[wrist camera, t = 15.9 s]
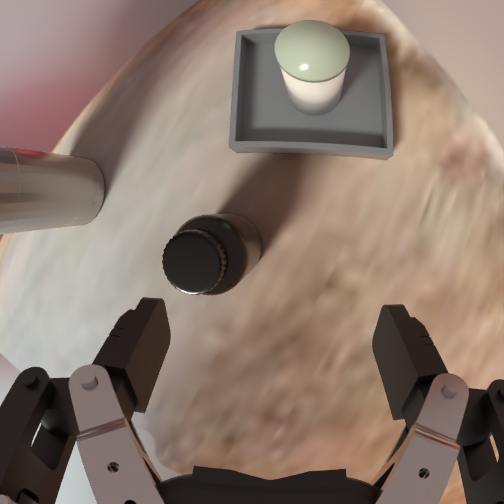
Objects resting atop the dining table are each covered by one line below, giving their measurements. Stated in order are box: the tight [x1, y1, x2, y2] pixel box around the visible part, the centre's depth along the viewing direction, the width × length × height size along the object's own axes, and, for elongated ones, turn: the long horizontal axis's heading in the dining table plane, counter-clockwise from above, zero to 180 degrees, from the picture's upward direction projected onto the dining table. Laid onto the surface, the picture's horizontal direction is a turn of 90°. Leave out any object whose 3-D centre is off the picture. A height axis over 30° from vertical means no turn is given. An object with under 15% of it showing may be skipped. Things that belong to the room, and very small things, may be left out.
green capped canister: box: [275, 20, 350, 116], centre depth 24 cm, size 6×6×10 cm
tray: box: [229, 28, 393, 160], centre depth 28 cm, size 16×14×3 cm
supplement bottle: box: [162, 214, 262, 295], centre depth 28 cm, size 7×7×12 cm
